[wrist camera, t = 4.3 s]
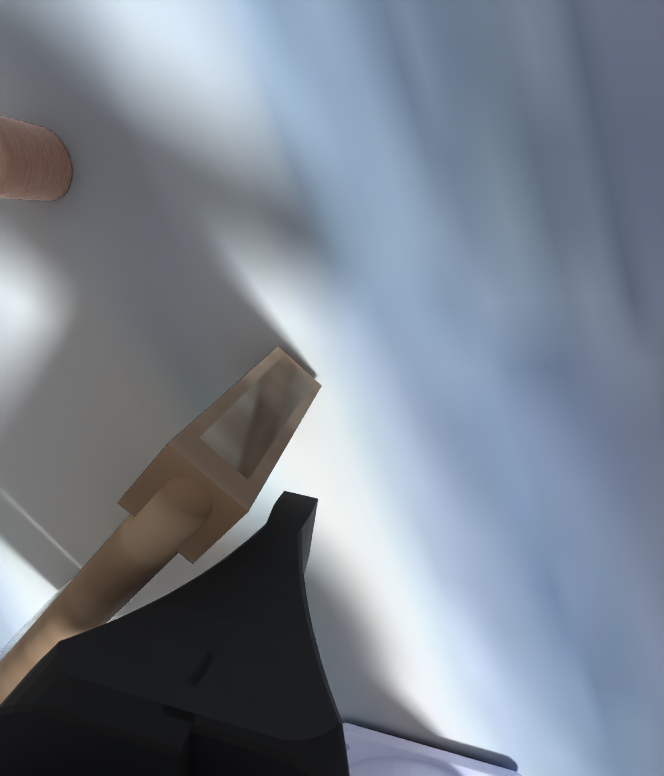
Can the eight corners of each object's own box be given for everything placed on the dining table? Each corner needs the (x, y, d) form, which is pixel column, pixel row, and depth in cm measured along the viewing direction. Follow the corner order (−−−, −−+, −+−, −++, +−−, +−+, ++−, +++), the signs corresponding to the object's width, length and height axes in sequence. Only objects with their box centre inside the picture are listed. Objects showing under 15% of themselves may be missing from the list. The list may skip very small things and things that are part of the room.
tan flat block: (110, 599, 19) (-40, 783, 12) (77, 573, 18) (-92, 747, 12) (321, 385, 13) (242, 520, 7) (277, 346, 13) (160, 450, 7)
